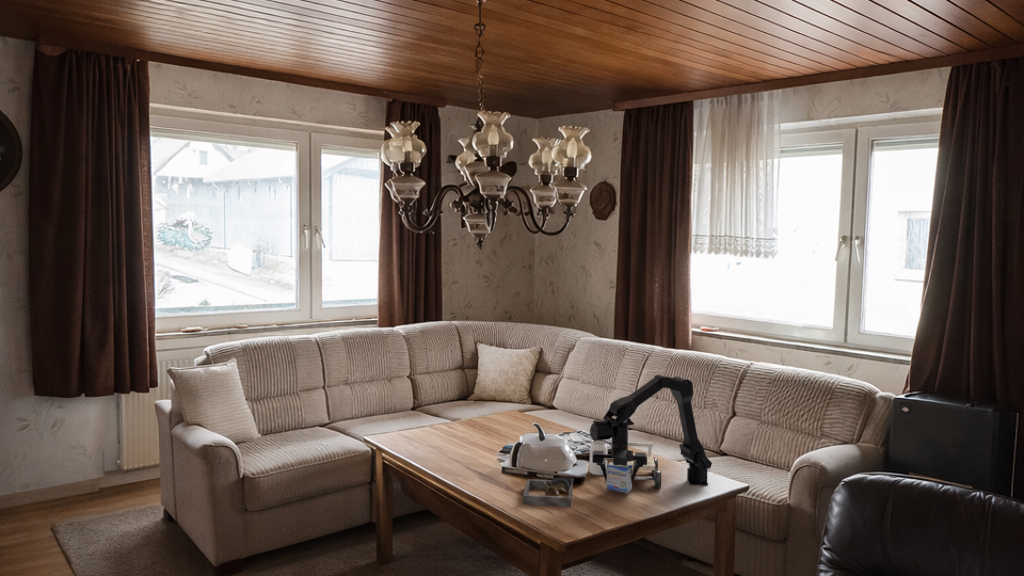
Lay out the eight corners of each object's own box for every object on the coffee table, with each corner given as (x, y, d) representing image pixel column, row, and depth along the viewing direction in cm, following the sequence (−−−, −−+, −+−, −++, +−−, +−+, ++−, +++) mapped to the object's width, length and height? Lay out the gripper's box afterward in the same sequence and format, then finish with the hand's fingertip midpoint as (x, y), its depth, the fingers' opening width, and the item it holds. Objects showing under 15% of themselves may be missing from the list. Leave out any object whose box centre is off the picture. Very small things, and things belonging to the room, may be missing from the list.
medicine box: (606, 489, 248) (606, 465, 247) (610, 485, 252) (610, 461, 251) (628, 492, 244) (628, 468, 243) (632, 488, 248) (632, 464, 247)
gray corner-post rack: (656, 471, 271) (657, 440, 270) (661, 490, 251) (662, 457, 250) (613, 469, 273) (614, 439, 272) (615, 487, 253) (616, 455, 252)
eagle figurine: (552, 498, 240) (575, 489, 243) (544, 477, 242) (567, 469, 246) (546, 502, 246) (568, 494, 250) (538, 483, 249) (560, 475, 252)
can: (607, 471, 270) (608, 440, 270) (605, 476, 264) (606, 444, 263) (591, 469, 272) (591, 438, 271) (588, 474, 266) (588, 443, 265)
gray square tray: (572, 489, 250) (572, 481, 250) (571, 507, 235) (571, 498, 234) (527, 487, 252) (527, 479, 252) (522, 504, 236) (522, 495, 236)
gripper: (592, 443, 240) (592, 488, 241) (648, 445, 237) (648, 491, 239) (592, 434, 251) (592, 477, 252) (646, 436, 248) (645, 479, 250)
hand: (619, 481), depth 248 cm, fingers closed on medicine box, 9 cm apart
